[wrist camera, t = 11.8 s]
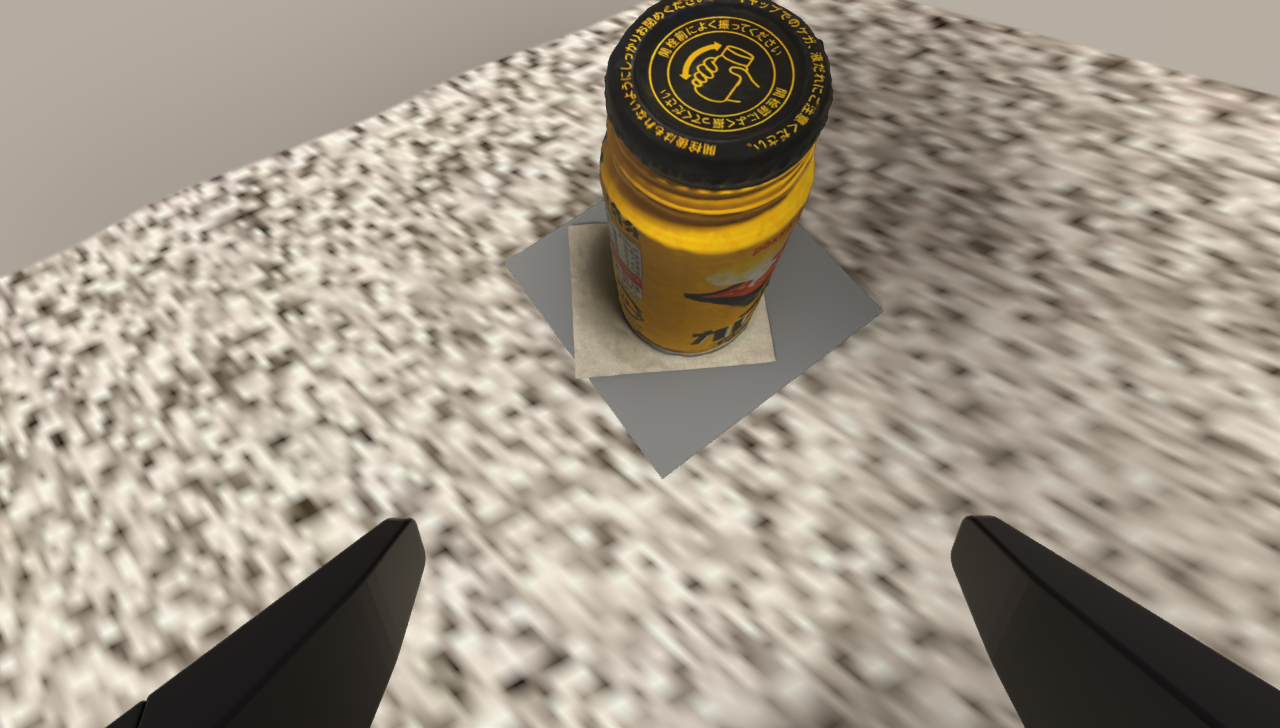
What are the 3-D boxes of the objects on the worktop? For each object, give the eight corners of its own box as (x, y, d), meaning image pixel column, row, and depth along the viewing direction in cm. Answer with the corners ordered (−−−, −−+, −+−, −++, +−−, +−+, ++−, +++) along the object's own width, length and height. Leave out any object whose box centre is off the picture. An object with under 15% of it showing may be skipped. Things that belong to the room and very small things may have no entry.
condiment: (775, 362, 22) (907, 183, 10) (575, 379, 22) (489, 219, 10) (749, 214, 24) (836, -70, 13) (568, 229, 24) (490, -39, 13)
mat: (878, 315, 23) (882, 310, 22) (662, 479, 21) (662, 477, 21) (708, 138, 26) (709, 131, 25) (507, 268, 24) (504, 262, 24)
